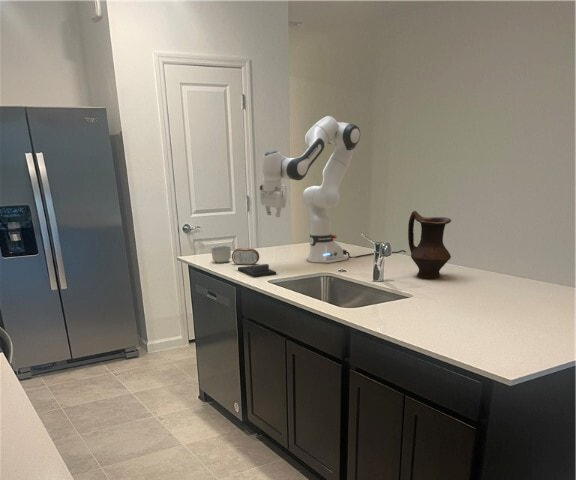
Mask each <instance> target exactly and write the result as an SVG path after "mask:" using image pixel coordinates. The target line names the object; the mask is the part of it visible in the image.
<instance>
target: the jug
mask: <svg viewBox="0 0 576 480" xmlns="http://www.w3.org/2000/svg"><path fill="white" fill-rule="evenodd" d="M415 221H416V222H418V223H420V228H421V229H420V231H421V232H420V240H419V242H418V244H417V246H416V245H415V239H414V238H415V236H414V235H415V233H414V230H415V229H414V228H415V227H414V226H415ZM451 222H452V219H451V218H448V217H445V216H444V217H443V216H441V217H440V216H439V217H438V216H437V217H433V216H432V217H428V216H427V217H426V216H422V215H421V214H419V213H418V211H417V210H413V211H412V212H411V214H410V216H409V219H408V223H407V225H408V226H407V227H408V228H407V239H408V240H407V241H408V247H409V252H410V258H411V260H412V261H413V262H414V264H415V266H417V268H418V272H417V273H416V277H417V278H420V279H426V280H427V279H428V280H431V279H432V280H433V279H438V278H440V277H441V276H442V274H441V273H440V271H441V270H442V268H443V267H444V266H445V265H446V264H447V263H448V262H449V261H450V260H451V258H452V256H451V254H450V252H449V251H448V249H447V248H446V246H445V244H444V232H445V227H446V225H448V224H450V223H451Z"/></svg>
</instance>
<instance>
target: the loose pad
mask: <svg viewBox="0 0 576 480" xmlns="http://www.w3.org/2000/svg"><path fill="white" fill-rule="evenodd" d="M251 266H252V268H253V269H252V270H249V271H246V273H245V274H246V275H248V276H250V277H252V278H260V277H261V278H262V277H267V276H275V275H277V271H275V270H273V269H270V265H269V264H268V263H263V264H254V265H251Z"/></svg>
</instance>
